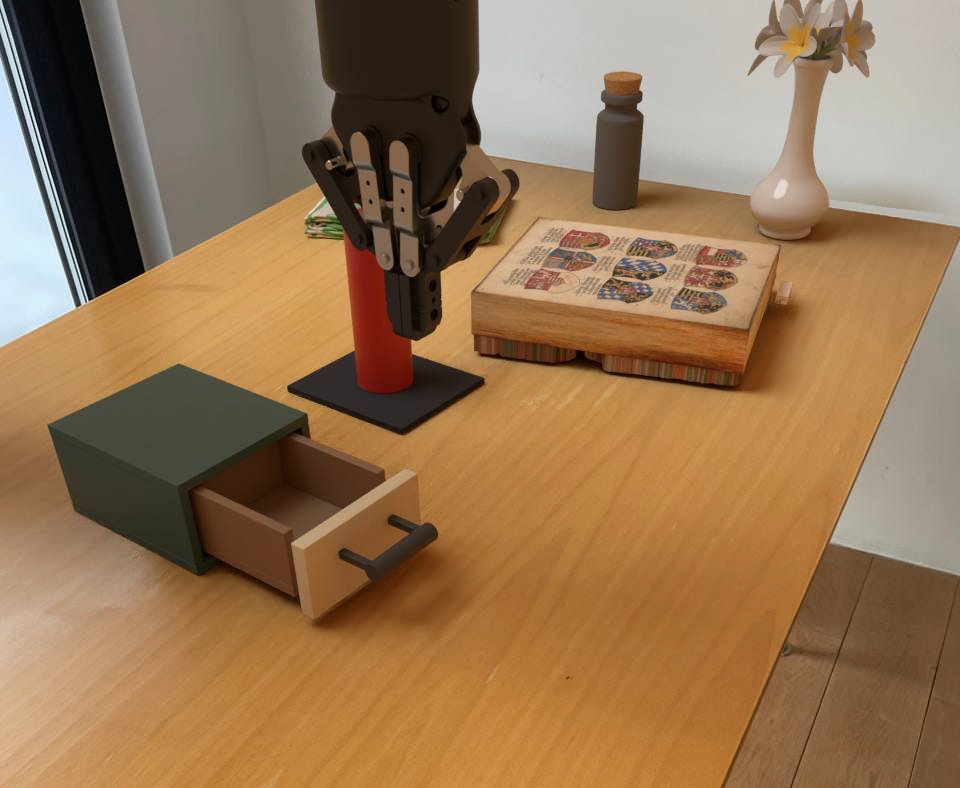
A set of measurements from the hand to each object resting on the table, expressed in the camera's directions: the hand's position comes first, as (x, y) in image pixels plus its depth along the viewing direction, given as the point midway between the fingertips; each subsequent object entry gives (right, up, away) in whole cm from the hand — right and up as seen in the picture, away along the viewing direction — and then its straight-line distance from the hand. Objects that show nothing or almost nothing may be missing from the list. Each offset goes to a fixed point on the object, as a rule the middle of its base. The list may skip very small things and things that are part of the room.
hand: (415, 333), depth 58 cm
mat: (-5, +6, +39) cm, 40 cm away
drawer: (-8, -11, +17) cm, 22 cm away
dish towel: (-5, +36, +75) cm, 83 cm away
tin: (-5, +7, +39) cm, 40 cm away
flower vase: (+41, +33, +70) cm, 87 cm away
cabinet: (-19, -6, +24) cm, 31 cm away
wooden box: (+20, +15, +50) cm, 56 cm away
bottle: (+21, +40, +78) cm, 91 cm away
